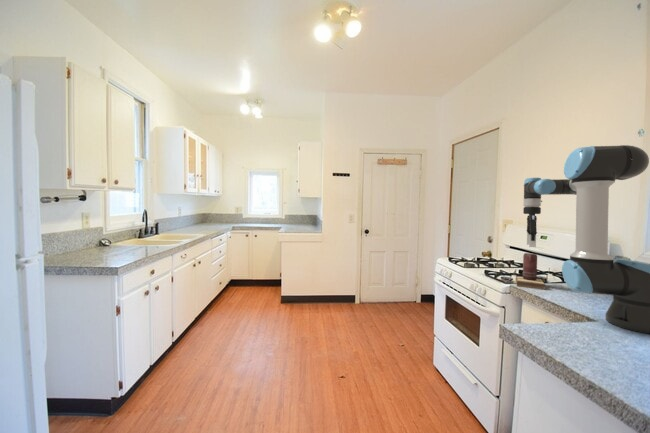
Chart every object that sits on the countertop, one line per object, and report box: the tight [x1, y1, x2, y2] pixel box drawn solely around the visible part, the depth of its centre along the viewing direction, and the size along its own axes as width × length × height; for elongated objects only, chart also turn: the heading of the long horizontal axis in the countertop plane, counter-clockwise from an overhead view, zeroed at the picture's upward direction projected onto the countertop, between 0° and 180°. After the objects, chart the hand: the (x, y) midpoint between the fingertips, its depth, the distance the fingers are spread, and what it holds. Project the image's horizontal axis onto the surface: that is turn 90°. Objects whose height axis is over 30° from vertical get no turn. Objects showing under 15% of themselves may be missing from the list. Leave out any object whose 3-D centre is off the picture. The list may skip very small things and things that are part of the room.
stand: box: [515, 276, 546, 291], centre depth 151 cm, size 12×12×3 cm
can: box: [522, 252, 538, 280], centre depth 152 cm, size 6×6×14 cm
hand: (531, 245), depth 150 cm, fingers open, 13 cm apart
